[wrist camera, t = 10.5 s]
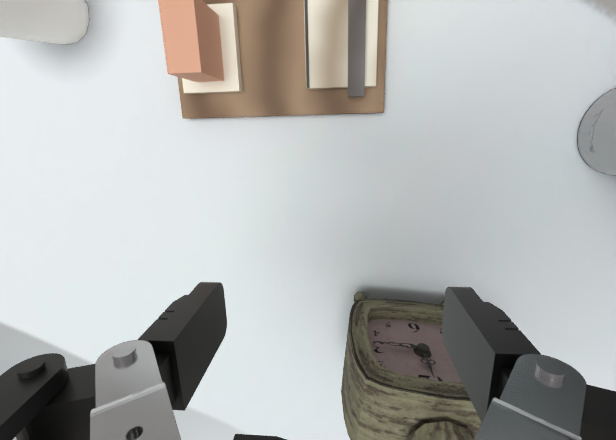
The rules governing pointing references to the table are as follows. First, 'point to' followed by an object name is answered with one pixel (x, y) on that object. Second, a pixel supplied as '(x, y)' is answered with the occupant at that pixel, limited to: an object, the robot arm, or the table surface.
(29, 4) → the foam cup
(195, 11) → the stub
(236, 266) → the table surface
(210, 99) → the stand
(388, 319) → the tabletop clock
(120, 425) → the robot arm
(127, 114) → the table surface
